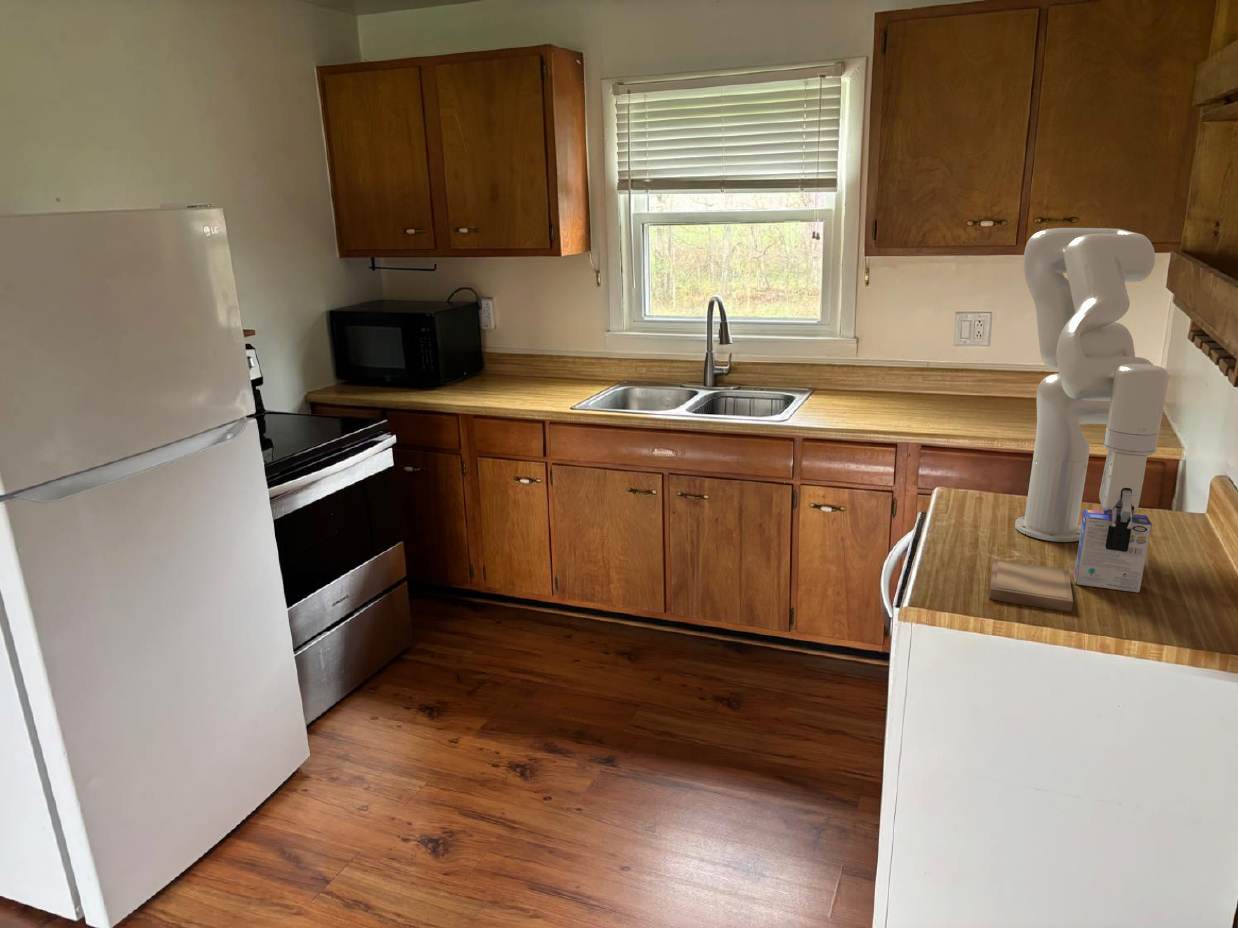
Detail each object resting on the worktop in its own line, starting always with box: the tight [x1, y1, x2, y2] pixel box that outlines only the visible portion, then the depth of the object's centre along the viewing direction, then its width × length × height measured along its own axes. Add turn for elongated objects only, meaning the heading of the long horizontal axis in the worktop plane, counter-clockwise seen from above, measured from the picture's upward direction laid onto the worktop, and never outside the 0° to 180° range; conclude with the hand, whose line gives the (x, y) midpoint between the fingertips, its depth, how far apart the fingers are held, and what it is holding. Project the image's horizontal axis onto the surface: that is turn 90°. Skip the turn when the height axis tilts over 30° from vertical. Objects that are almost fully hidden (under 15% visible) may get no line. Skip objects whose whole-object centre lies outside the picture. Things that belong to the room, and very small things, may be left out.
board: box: [989, 558, 1074, 613], centre depth 149 cm, size 14×12×2 cm
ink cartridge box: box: [1073, 509, 1153, 593], centre depth 149 cm, size 10×6×14 cm, turn 70°
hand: (1113, 540), depth 149 cm, fingers open, 8 cm apart
